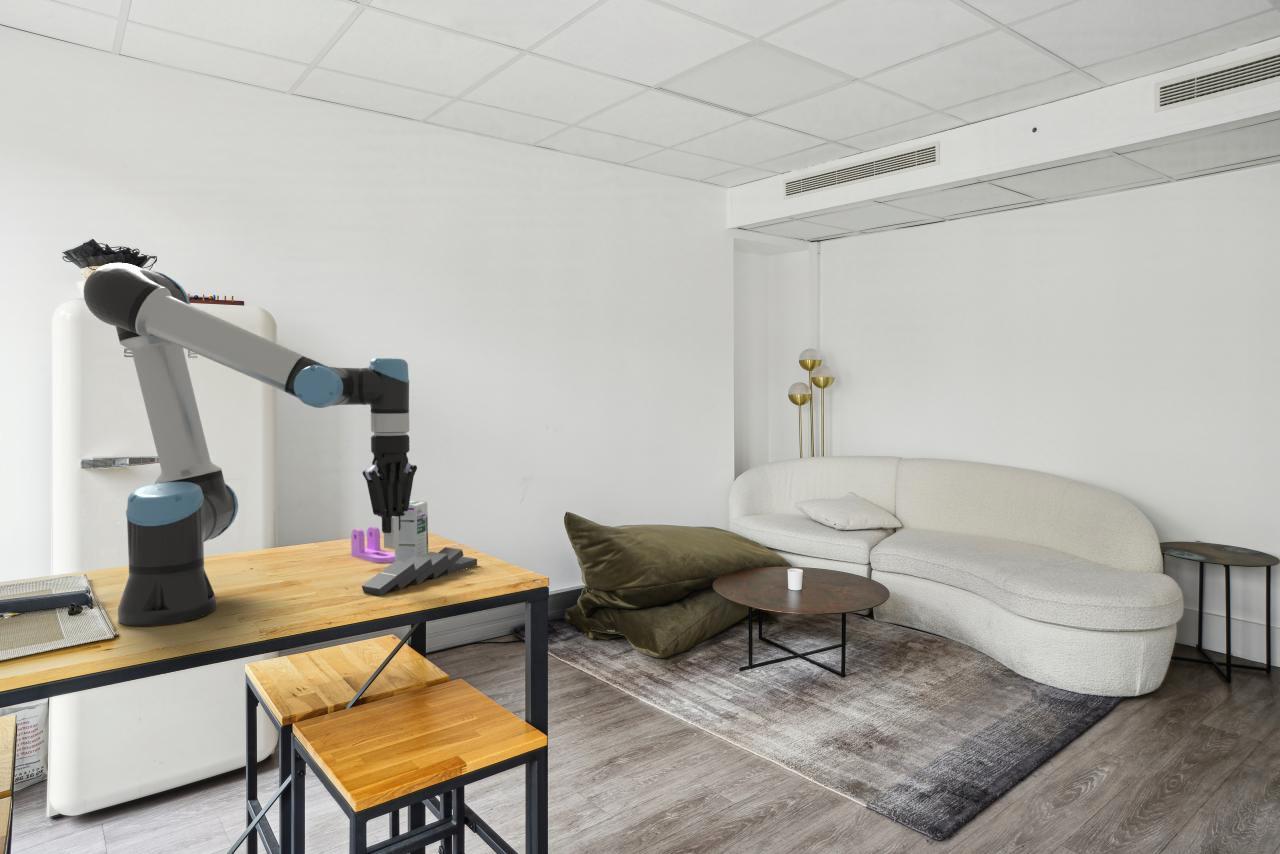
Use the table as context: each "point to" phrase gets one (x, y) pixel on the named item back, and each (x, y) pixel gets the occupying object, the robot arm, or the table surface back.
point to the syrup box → (413, 532)
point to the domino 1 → (388, 578)
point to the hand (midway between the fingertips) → (391, 547)
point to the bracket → (369, 546)
